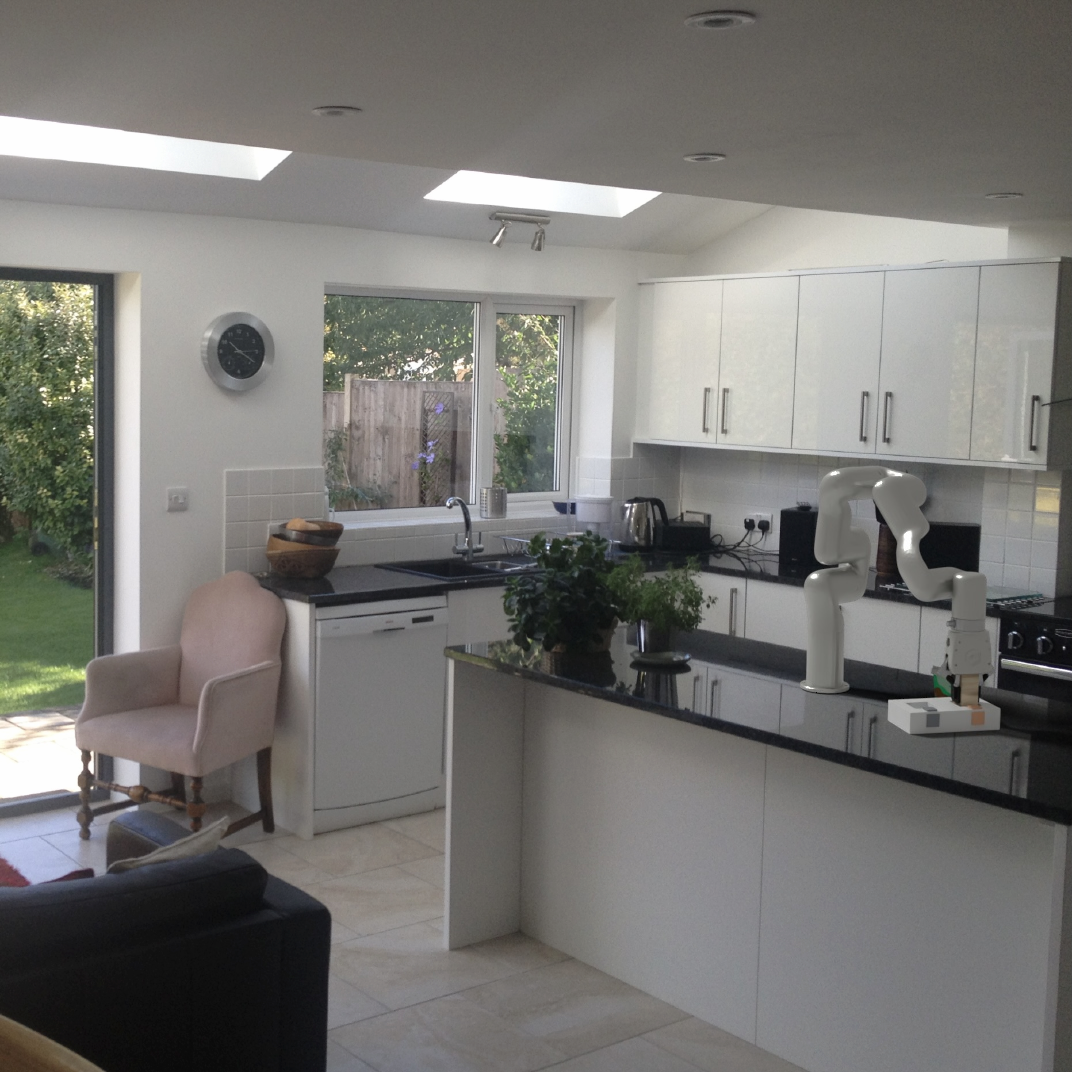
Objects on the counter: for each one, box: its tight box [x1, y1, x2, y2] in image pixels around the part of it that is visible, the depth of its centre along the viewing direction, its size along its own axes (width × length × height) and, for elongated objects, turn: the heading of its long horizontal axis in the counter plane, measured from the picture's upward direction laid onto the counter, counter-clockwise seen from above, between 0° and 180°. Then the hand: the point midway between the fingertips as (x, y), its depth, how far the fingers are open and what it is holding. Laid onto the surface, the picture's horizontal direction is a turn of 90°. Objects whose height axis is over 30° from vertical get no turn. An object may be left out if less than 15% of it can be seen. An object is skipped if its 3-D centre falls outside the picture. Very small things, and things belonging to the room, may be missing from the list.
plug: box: [954, 674, 979, 707], centre depth 299 cm, size 4×4×10 cm
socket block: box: [887, 697, 1001, 735], centre depth 298 cm, size 12×22×5 cm, turn 99°
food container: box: [930, 664, 951, 698], centre depth 316 cm, size 12×6×10 cm, turn 105°
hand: (965, 700), depth 299 cm, fingers closed on plug, 4 cm apart
